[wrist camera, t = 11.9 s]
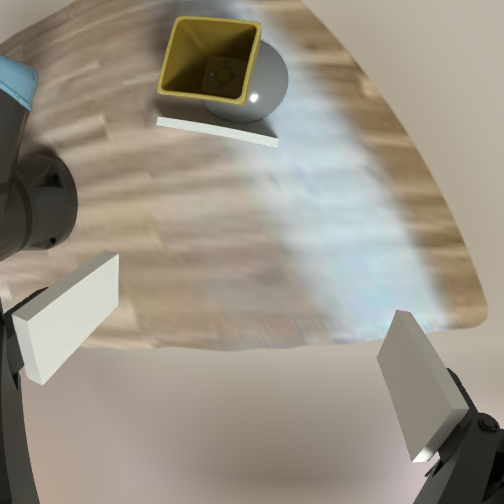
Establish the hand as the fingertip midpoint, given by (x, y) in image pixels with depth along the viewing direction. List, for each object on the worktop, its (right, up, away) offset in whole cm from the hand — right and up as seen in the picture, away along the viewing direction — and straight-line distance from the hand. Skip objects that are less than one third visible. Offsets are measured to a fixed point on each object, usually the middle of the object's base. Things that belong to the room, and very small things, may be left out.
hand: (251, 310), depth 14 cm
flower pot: (-3, +24, +20) cm, 31 cm away
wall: (-4, +17, +23) cm, 29 cm away
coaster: (-1, +23, +21) cm, 31 cm away
